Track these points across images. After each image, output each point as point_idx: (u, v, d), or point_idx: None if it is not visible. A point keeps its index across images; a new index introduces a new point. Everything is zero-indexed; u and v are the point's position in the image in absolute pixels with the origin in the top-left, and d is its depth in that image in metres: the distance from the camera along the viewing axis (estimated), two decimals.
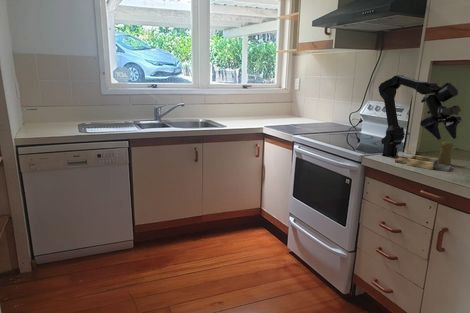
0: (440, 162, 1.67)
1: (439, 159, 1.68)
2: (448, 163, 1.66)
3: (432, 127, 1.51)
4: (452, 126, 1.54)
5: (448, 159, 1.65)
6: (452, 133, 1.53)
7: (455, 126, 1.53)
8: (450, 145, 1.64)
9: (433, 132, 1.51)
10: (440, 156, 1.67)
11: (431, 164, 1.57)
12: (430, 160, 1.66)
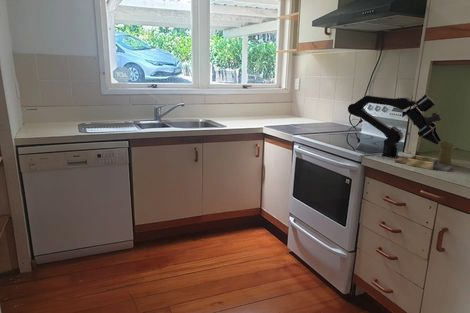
0: (440, 162, 1.67)
1: (439, 159, 1.68)
2: (448, 163, 1.66)
3: (428, 135, 1.65)
4: (433, 131, 1.73)
5: (448, 159, 1.65)
6: (436, 137, 1.72)
7: None
8: (450, 145, 1.64)
9: (430, 139, 1.65)
10: (440, 156, 1.67)
11: (431, 164, 1.57)
12: (430, 160, 1.66)
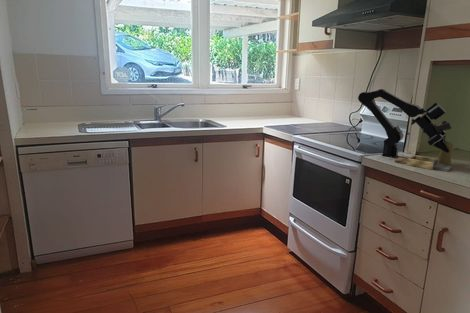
0: (440, 162, 1.67)
1: (439, 159, 1.68)
2: (448, 163, 1.66)
3: (439, 143, 1.65)
4: None
5: (448, 159, 1.65)
6: None
7: (445, 139, 1.69)
8: (450, 145, 1.64)
9: (441, 147, 1.64)
10: (440, 156, 1.67)
11: (431, 164, 1.57)
12: (430, 160, 1.66)
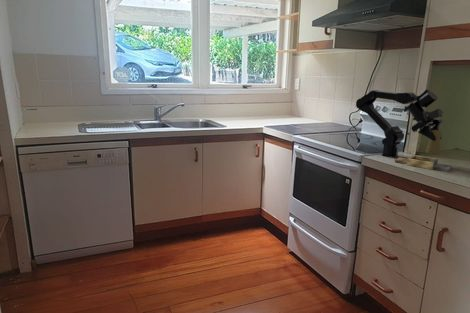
0: (427, 150, 1.64)
1: (427, 147, 1.64)
2: (435, 152, 1.61)
3: (425, 130, 1.62)
4: (435, 129, 1.65)
5: (435, 148, 1.61)
6: None
7: (438, 128, 1.65)
8: (437, 133, 1.60)
9: (427, 135, 1.61)
10: (428, 144, 1.64)
11: (431, 164, 1.57)
12: (430, 160, 1.66)
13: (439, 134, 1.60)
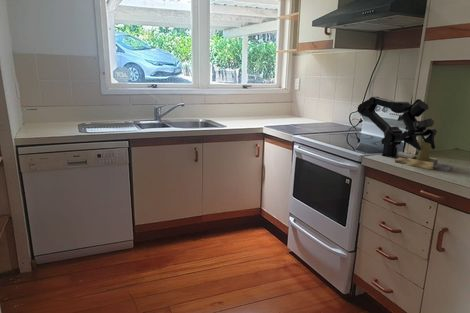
0: None
1: (416, 159, 1.66)
2: None
3: (411, 140, 1.63)
4: (430, 138, 1.66)
5: (423, 160, 1.62)
6: (431, 144, 1.65)
7: (432, 138, 1.65)
8: (425, 146, 1.61)
9: (413, 144, 1.62)
10: (417, 156, 1.65)
11: (431, 164, 1.57)
12: (430, 160, 1.66)
13: (427, 146, 1.60)
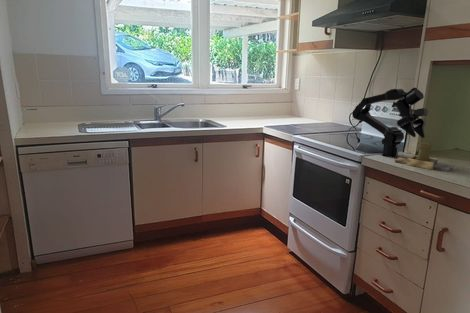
0: None
1: None
2: None
3: (407, 126, 1.66)
4: (420, 127, 1.71)
5: (423, 160, 1.62)
6: (420, 133, 1.71)
7: (422, 127, 1.71)
8: (425, 146, 1.61)
9: (409, 131, 1.65)
10: (417, 156, 1.65)
11: (431, 164, 1.57)
12: (430, 160, 1.66)
13: (427, 146, 1.60)
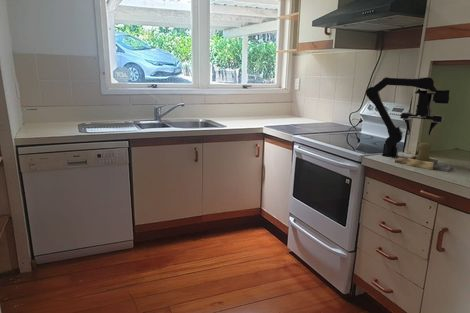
0: None
1: (416, 159, 1.66)
2: None
3: None
4: (410, 122, 1.77)
5: (423, 160, 1.62)
6: (410, 128, 1.77)
7: None
8: (425, 146, 1.61)
9: (432, 128, 1.69)
10: (417, 156, 1.65)
11: (431, 164, 1.57)
12: (430, 160, 1.66)
13: (427, 146, 1.60)
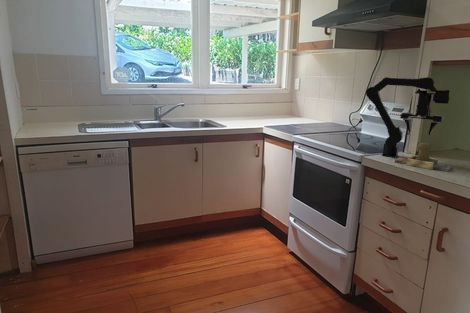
0: None
1: None
2: None
3: None
4: (410, 122, 1.77)
5: (423, 160, 1.62)
6: (410, 128, 1.77)
7: None
8: (425, 146, 1.61)
9: (432, 128, 1.69)
10: (417, 156, 1.65)
11: (431, 164, 1.57)
12: (430, 160, 1.66)
13: (427, 146, 1.60)
